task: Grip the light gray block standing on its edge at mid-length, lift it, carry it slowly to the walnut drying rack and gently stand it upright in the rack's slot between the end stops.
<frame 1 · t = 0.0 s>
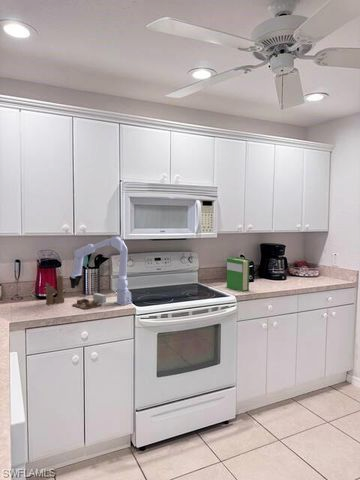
hand: (74, 286, 230), 11 cm above the countertop, tool pointing down, fingers open, 7 cm apart
rack: (87, 305, 223), on the countertop
light gray block: (99, 301, 234), on the countertop
hardback book: (237, 289, 277), on the countertop
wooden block: (55, 303, 229), on the countertop
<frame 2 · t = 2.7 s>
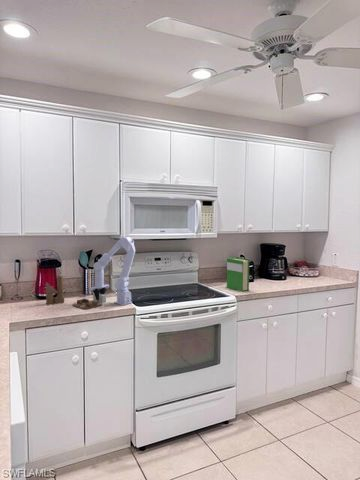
hand: (99, 299, 234), 1 cm above the countertop, tool pointing down, fingers closed on light gray block, 3 cm apart
light gray block: (99, 301, 234), on the countertop, touching gripper
everything else where it was.
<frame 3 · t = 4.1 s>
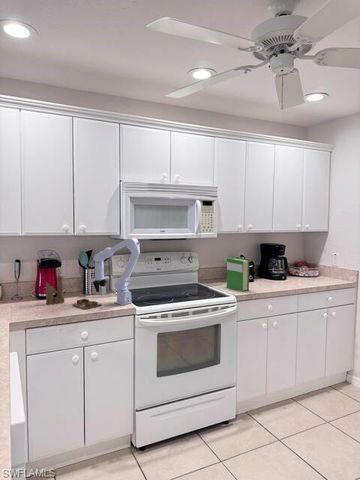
hand: (99, 291, 233), 7 cm above the countertop, tool pointing down, fingers closed on light gray block, 3 cm apart
light gray block: (99, 293, 234), point 5 cm above the countertop, touching gripper
everything else where it was.
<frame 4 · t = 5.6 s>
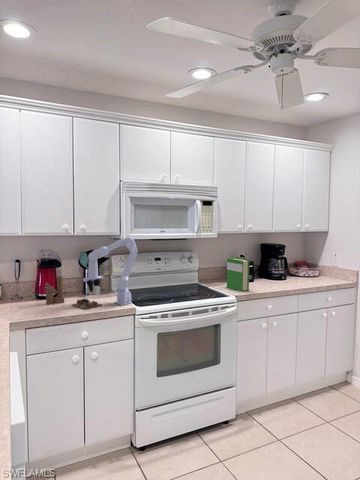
hand: (93, 291, 228), 8 cm above the countertop, tool pointing down, fingers closed on light gray block, 3 cm apart
light gray block: (93, 293, 228), point 7 cm above the countertop, touching gripper
everything else where it was.
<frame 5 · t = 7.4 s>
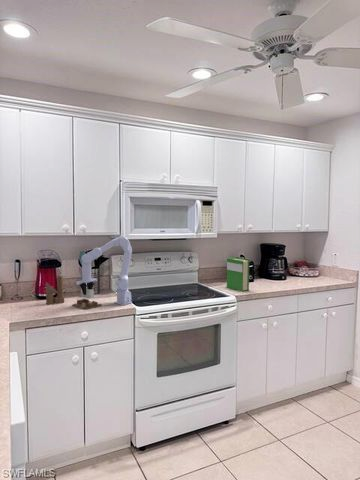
hand: (87, 294, 222), 8 cm above the countertop, tool pointing down, fingers closed on light gray block, 3 cm apart
light gray block: (87, 297, 222), point 6 cm above the countertop, touching gripper
everything else where it was.
when the fingers open (3 cm above the countertop, at t = 8.9 s): light gray block stays where it is, resting on rack.
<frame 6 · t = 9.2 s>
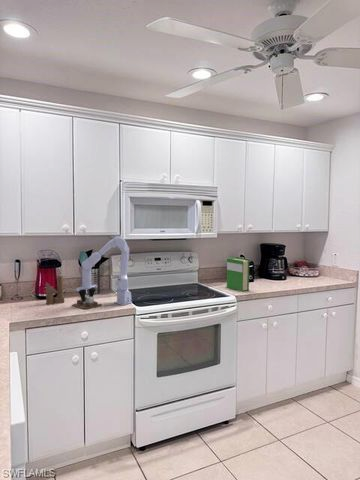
hand: (87, 300, 223), 3 cm above the countertop, tool pointing down, fingers open, 5 cm apart
light gray block: (87, 304, 223), point 1 cm above the countertop, touching rack
everything else where it was.
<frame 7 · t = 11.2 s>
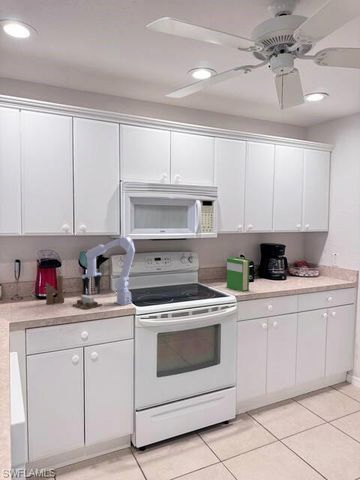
hand: (91, 287, 233), 9 cm above the countertop, tool pointing down, fingers open, 7 cm apart
nothing on the countertop moved.
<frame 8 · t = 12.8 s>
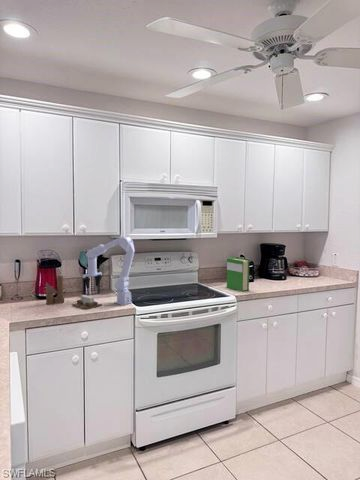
hand: (92, 287, 235), 9 cm above the countertop, tool pointing down, fingers open, 7 cm apart
nothing on the countertop moved.
at the end: light gray block 0.1 cm off-centre on the rack, point 1.0 cm above the rack's base; light gray block tilted 0°; the gripper is holding nothing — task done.
